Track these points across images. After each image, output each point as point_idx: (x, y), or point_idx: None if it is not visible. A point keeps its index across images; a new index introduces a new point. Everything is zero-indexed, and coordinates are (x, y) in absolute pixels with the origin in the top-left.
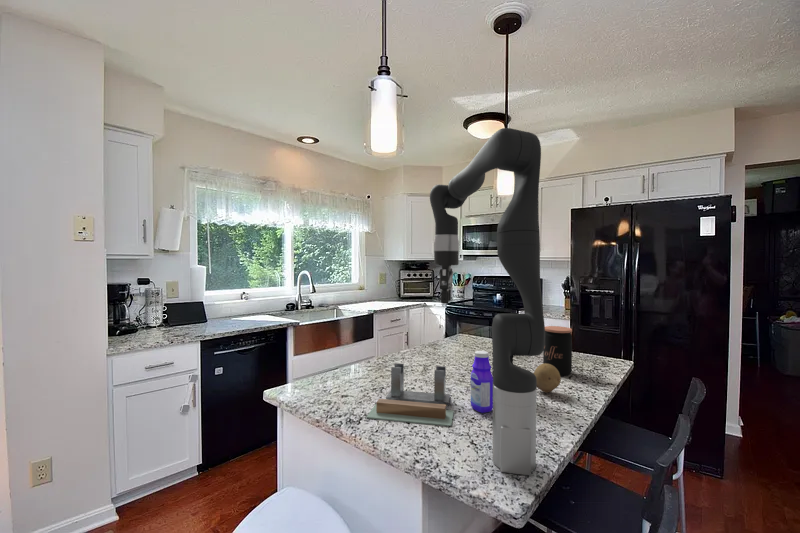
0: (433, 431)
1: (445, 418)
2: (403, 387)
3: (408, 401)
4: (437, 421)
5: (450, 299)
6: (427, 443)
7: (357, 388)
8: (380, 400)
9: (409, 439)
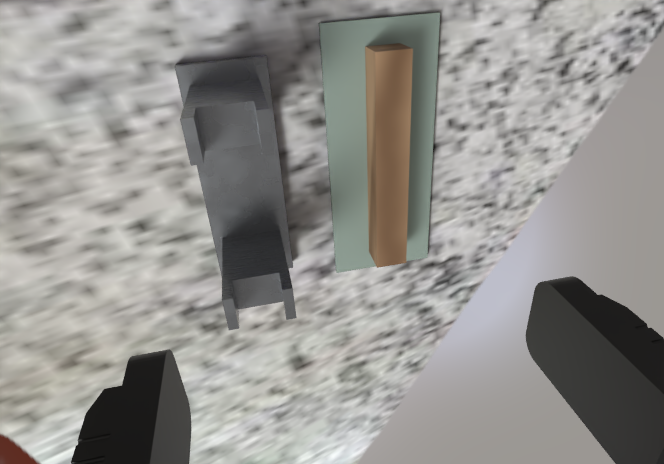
0: (475, 62)
1: (393, 42)
2: (224, 246)
3: (377, 183)
4: (421, 64)
5: (166, 358)
6: (543, 62)
7: (229, 364)
8: (390, 259)
9: (525, 114)
